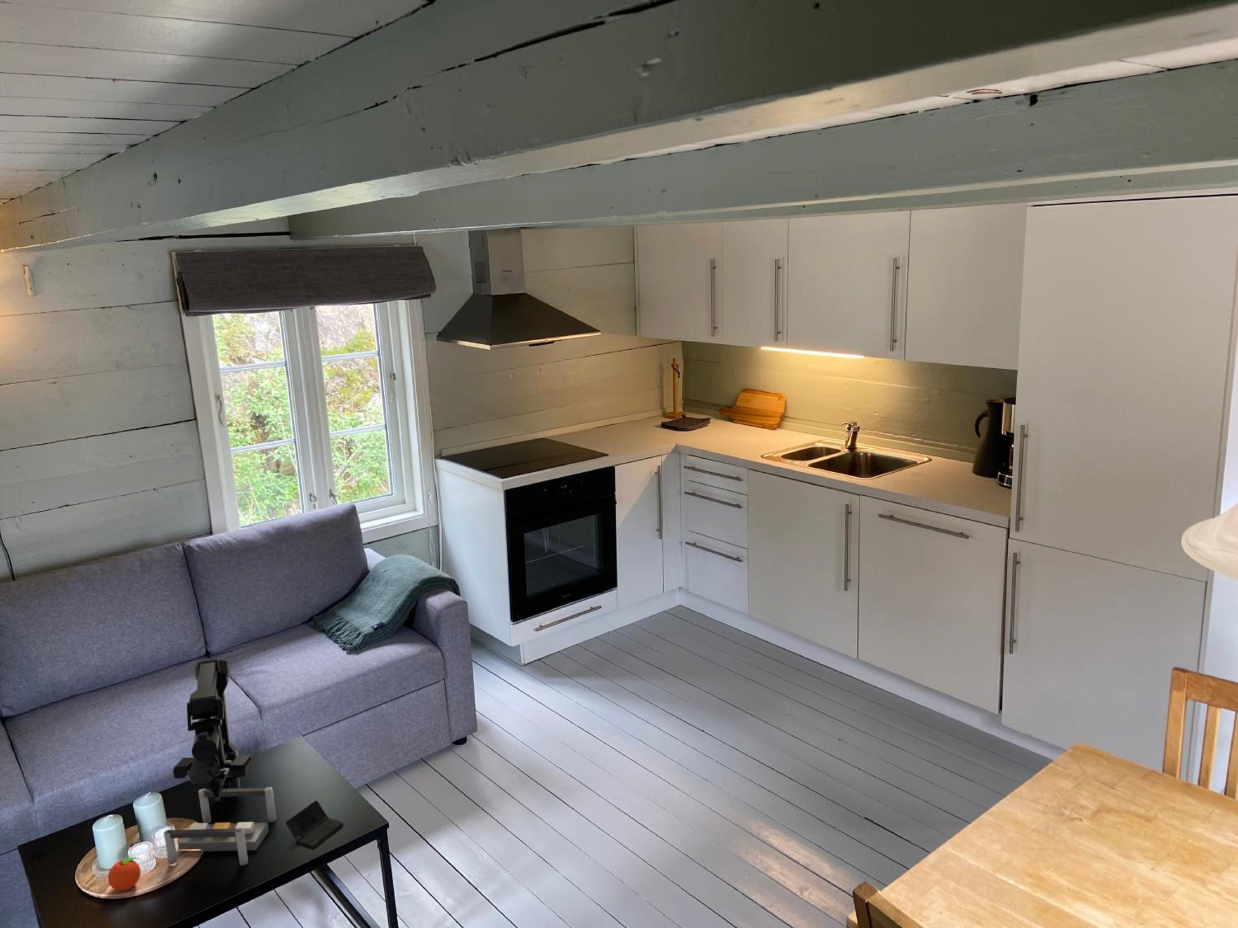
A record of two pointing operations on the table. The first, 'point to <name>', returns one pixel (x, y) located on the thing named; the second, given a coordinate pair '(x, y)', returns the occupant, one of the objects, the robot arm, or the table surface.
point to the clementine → (124, 874)
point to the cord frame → (208, 833)
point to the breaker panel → (226, 840)
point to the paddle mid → (222, 826)
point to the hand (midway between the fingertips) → (218, 796)
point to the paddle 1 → (200, 826)
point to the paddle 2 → (246, 827)
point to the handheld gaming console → (312, 825)
